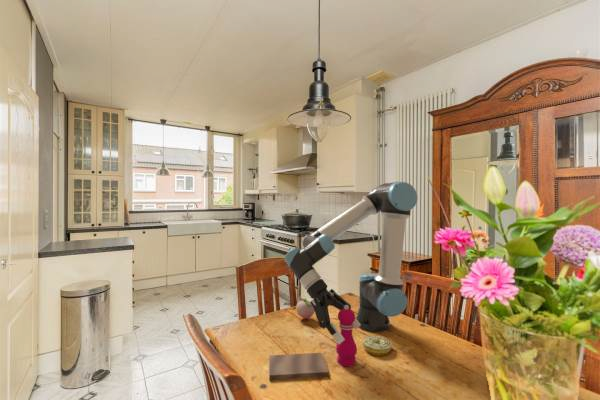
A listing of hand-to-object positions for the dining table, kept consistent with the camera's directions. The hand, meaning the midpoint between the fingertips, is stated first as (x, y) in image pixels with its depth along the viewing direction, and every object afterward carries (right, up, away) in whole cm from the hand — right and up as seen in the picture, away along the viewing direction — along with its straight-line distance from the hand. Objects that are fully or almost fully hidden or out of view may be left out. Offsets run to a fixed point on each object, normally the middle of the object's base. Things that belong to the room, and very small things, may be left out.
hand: (350, 334), depth 102 cm
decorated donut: (+12, -11, +9) cm, 19 cm away
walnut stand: (-19, -10, -3) cm, 21 cm away
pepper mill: (-1, -10, +1) cm, 10 cm away
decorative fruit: (-15, -10, +38) cm, 42 cm away
